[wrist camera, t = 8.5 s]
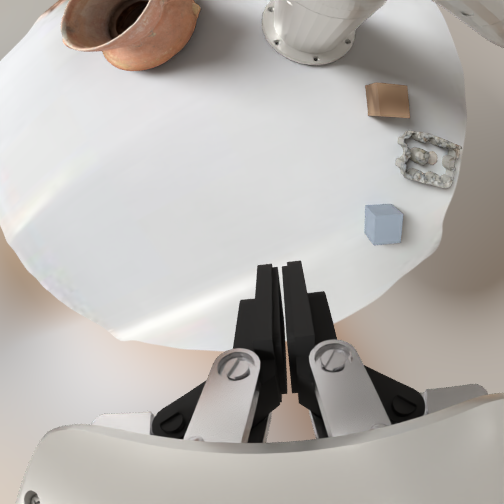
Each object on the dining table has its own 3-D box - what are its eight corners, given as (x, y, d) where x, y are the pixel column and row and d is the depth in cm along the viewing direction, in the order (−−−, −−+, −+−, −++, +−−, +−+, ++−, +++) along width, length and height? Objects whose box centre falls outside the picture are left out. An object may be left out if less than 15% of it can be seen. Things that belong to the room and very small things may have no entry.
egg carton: (450, 142, 32) (465, 146, 28) (442, 185, 35) (456, 192, 32) (397, 124, 32) (410, 127, 28) (390, 172, 36) (402, 179, 32)
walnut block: (365, 85, 30) (376, 82, 26) (393, 87, 29) (407, 85, 25) (368, 115, 32) (380, 116, 28) (395, 117, 31) (409, 118, 27)
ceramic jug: (210, -18, 23) (182, -66, 10) (213, 61, 29) (179, 33, 17) (103, 13, 24) (47, -7, 12) (101, 87, 31) (38, 86, 18)
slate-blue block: (365, 205, 38) (375, 215, 34) (391, 203, 38) (403, 214, 34) (364, 232, 40) (373, 245, 36) (389, 230, 40) (400, 242, 36)
